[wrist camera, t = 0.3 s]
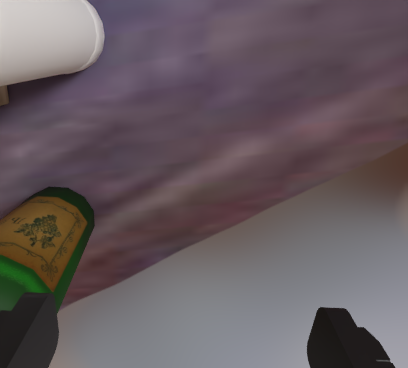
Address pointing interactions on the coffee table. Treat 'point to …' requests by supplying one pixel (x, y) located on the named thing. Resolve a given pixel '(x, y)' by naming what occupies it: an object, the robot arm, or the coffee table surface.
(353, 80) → the coffee table surface
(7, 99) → the cradle
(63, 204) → the bottle
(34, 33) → the bottle
